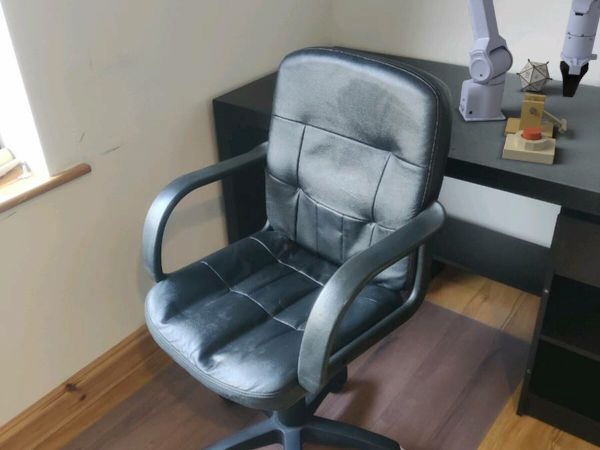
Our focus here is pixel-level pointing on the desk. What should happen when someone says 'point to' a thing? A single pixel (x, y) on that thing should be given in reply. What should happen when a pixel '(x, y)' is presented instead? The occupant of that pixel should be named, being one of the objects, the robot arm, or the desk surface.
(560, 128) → the lever
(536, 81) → the game die
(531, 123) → the bracket
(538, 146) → the control block
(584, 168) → the desk surface
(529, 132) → the button
